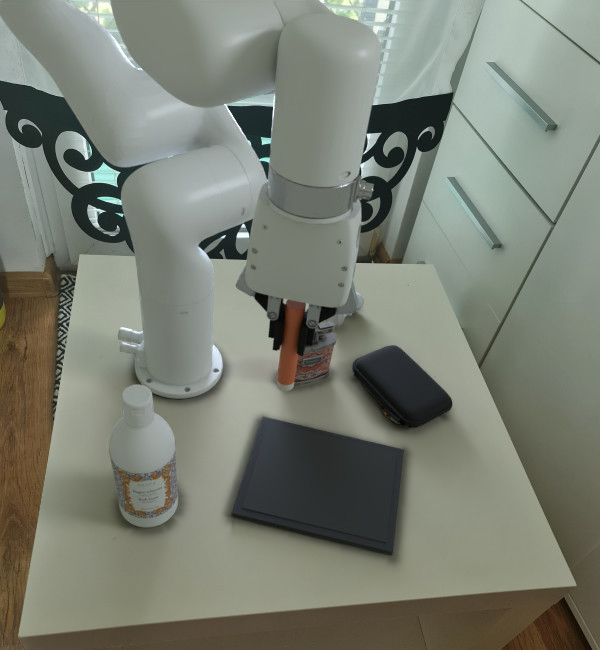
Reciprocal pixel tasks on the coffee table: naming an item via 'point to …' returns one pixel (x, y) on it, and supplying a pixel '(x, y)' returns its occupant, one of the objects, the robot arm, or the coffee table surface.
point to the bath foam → (143, 461)
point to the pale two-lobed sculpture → (339, 318)
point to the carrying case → (401, 387)
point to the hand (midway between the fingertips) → (290, 343)
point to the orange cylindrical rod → (290, 344)
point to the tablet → (322, 485)
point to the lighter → (316, 356)
